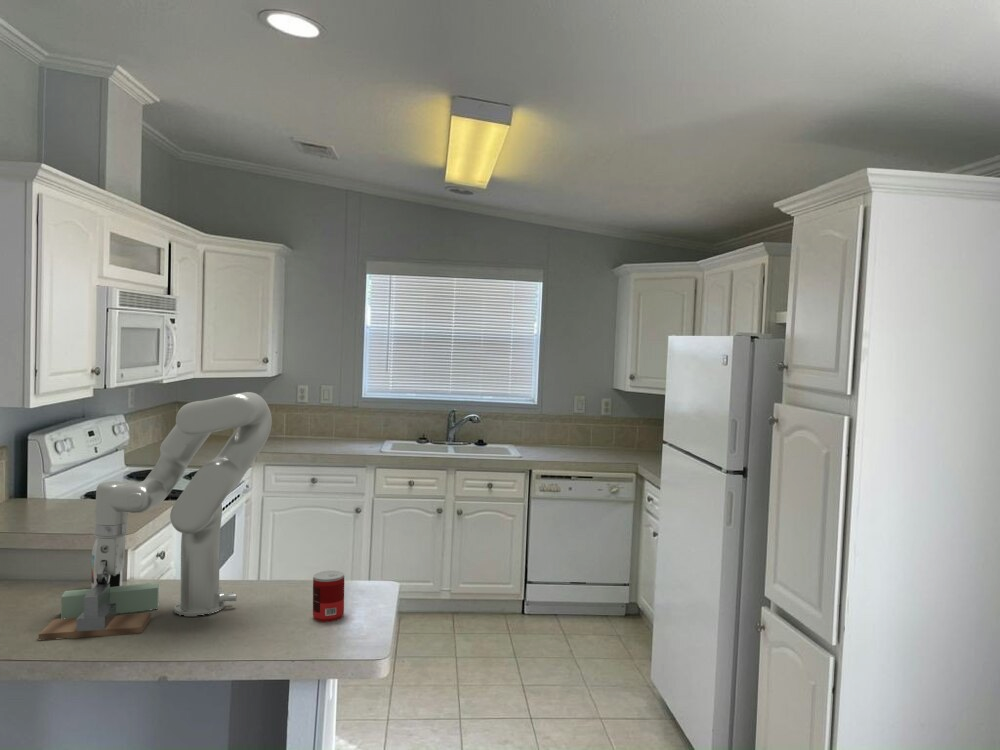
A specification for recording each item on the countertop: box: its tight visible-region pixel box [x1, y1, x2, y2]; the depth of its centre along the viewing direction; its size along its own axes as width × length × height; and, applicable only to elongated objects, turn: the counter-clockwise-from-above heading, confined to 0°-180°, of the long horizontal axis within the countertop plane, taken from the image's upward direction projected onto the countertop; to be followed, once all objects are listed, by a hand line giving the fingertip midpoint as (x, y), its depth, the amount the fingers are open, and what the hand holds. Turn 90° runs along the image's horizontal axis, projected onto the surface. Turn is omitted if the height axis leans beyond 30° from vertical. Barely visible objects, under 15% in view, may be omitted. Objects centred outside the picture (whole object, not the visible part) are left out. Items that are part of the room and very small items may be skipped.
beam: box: [60, 582, 160, 619], centre depth 188 cm, size 22×5×6 cm, turn 112°
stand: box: [38, 584, 152, 640], centre depth 175 cm, size 22×10×10 cm, turn 104°
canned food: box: [312, 570, 345, 623], centre depth 186 cm, size 8×8×11 cm
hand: (107, 594), depth 188 cm, fingers open, 9 cm apart
